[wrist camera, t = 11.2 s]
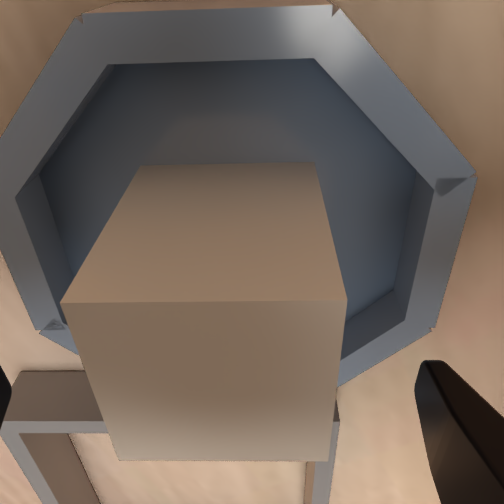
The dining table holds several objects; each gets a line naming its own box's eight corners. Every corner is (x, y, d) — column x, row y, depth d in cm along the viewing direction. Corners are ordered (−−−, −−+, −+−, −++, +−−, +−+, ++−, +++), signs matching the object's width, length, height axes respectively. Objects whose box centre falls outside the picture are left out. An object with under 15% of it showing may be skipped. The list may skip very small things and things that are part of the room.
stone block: (314, 161, 12) (347, 300, 7) (307, 296, 15) (327, 461, 10) (140, 165, 13) (60, 303, 8) (165, 297, 15) (118, 460, 10)
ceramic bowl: (477, -11, 11) (528, -2, 9) (396, 352, 18) (413, 403, 16) (-33, 7, 11) (-100, 19, 9) (89, 354, 19) (67, 404, 16)
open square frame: (331, 370, 19) (339, 421, 17) (315, 520, 27) (319, 568, 25) (20, 371, 19) (-9, 421, 17) (94, 518, 27) (80, 564, 25)
